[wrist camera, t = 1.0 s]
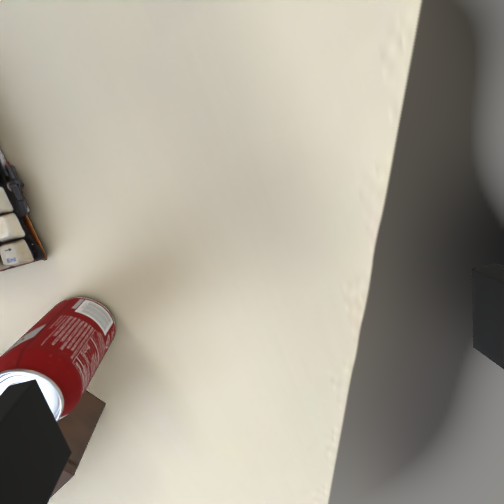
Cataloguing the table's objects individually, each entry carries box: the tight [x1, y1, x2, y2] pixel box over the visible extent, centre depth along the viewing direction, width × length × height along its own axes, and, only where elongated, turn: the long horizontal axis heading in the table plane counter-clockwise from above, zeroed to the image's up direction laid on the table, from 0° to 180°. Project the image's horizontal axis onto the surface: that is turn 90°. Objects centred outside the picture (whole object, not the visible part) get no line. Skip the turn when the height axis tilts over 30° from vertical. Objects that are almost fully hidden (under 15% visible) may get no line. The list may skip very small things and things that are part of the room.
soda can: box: [0, 297, 116, 421], centre depth 29 cm, size 7×7×12 cm
